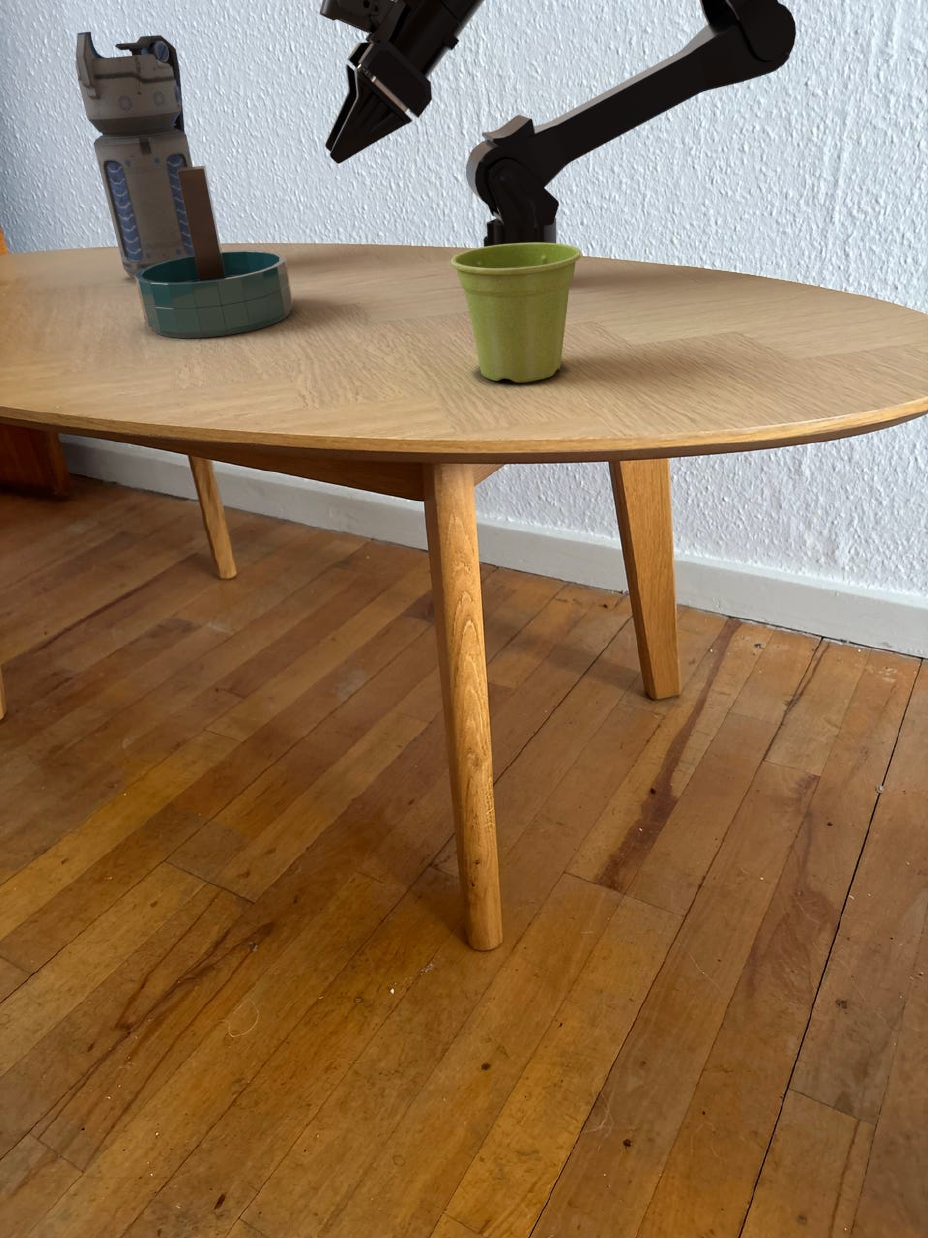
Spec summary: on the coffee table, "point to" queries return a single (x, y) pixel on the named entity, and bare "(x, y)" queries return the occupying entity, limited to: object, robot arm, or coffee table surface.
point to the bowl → (215, 295)
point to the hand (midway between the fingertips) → (331, 154)
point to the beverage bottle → (139, 145)
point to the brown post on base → (202, 222)
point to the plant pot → (518, 306)
